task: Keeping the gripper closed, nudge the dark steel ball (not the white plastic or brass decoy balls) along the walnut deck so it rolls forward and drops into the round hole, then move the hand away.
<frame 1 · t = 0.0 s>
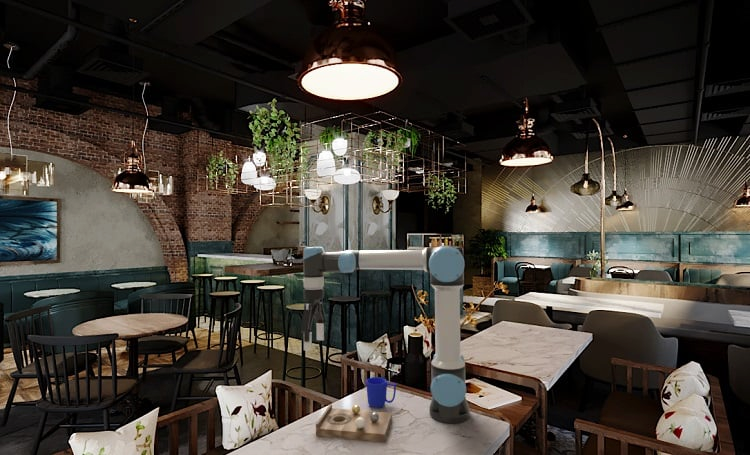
hand: (314, 345, 150), 28 cm above the table, fingers open, 13 cm apart
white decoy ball: (360, 422, 138), point 4 cm above the table, touching deck
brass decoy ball: (356, 409, 149), point 4 cm above the table, touching deck
steel ball: (374, 417, 142), point 4 cm above the table, touching deck
mug: (381, 406, 161), on the table
deck: (355, 427, 144), on the table
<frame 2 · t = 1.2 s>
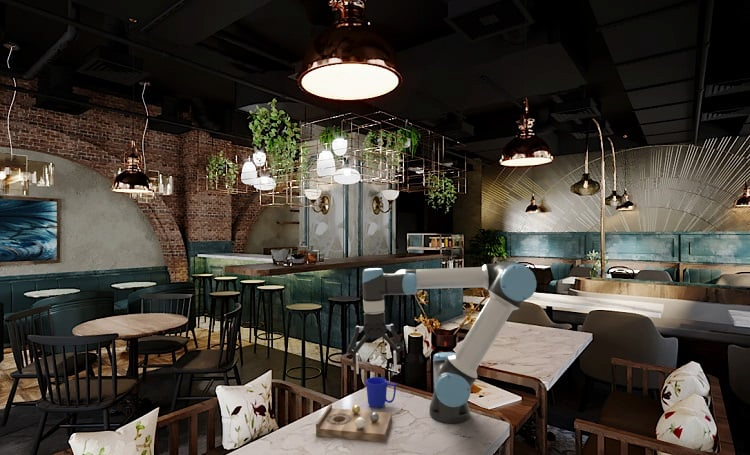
hand: (376, 371, 143), 20 cm above the table, fingers open, 13 cm apart
nothing on the table moved.
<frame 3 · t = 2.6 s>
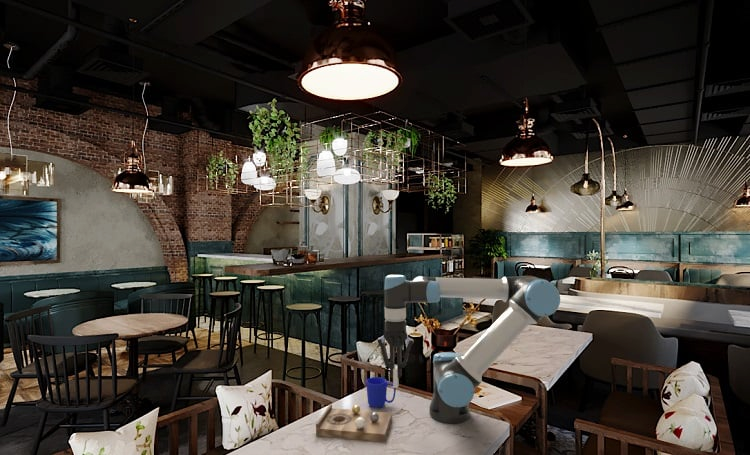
hand: (395, 386, 141), 16 cm above the table, fingers closed
nothing on the table moved.
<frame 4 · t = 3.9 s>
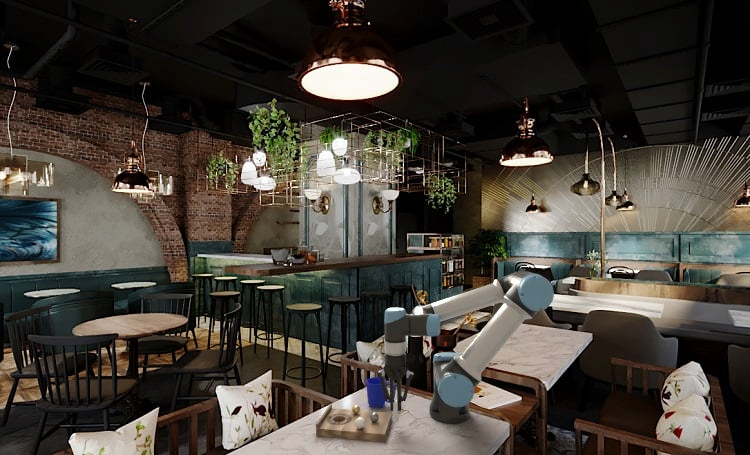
hand: (396, 419, 141), 4 cm above the table, fingers closed
nothing on the table moved.
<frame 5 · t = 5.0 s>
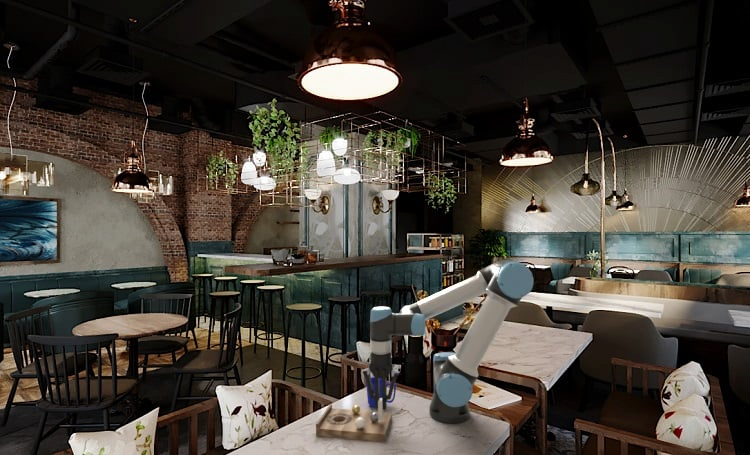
hand: (380, 418, 142), 4 cm above the table, fingers closed
steel ball: (374, 417, 142), point 4 cm above the table, touching deck, gripper
everything else where it was.
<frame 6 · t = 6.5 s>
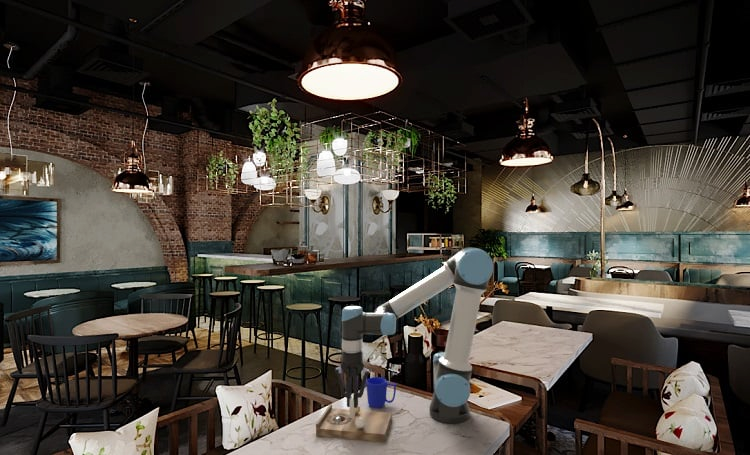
hand: (352, 415, 144), 4 cm above the table, fingers closed
steel ball: (337, 421, 145), point 2 cm above the table, tilted 155°
everything else where it was.
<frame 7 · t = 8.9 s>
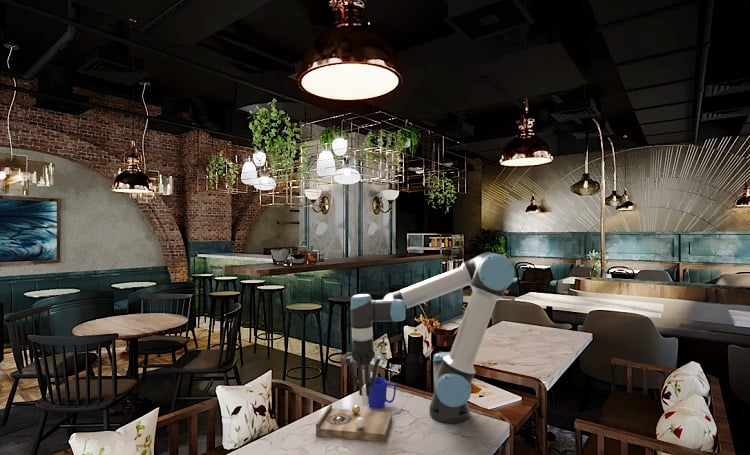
hand: (365, 404, 143), 8 cm above the table, fingers closed
steel ball: (338, 421, 145), point 2 cm above the table, tilted 145°
everything else where it was.
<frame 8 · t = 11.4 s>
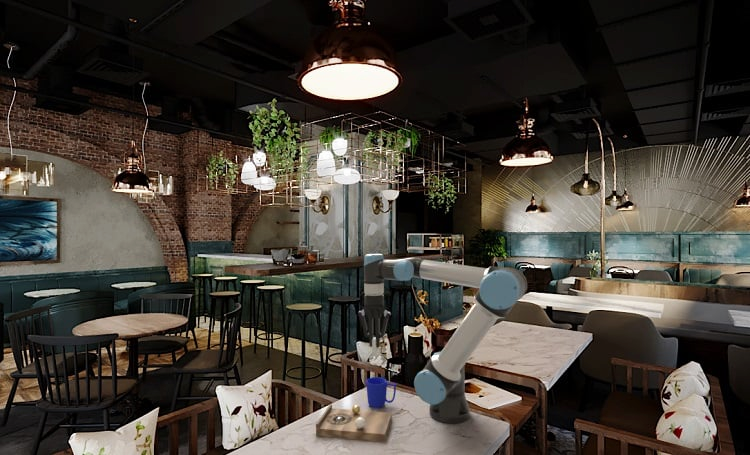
hand: (374, 355, 155), 22 cm above the table, fingers closed
steel ball: (339, 421, 145), point 2 cm above the table, tilted 134°
everything else where it was.
at the end: steel ball 0.1 cm from the target spot in the deck, point 1.6 cm above the deck's base; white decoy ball moved 0.1 cm from its start; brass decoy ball moved 0.1 cm from its start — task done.
